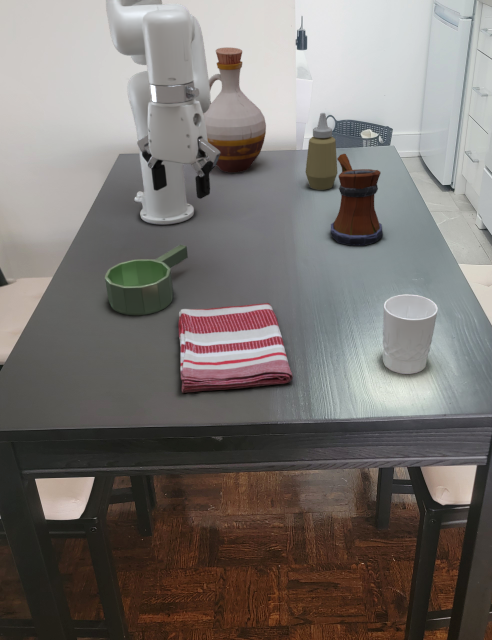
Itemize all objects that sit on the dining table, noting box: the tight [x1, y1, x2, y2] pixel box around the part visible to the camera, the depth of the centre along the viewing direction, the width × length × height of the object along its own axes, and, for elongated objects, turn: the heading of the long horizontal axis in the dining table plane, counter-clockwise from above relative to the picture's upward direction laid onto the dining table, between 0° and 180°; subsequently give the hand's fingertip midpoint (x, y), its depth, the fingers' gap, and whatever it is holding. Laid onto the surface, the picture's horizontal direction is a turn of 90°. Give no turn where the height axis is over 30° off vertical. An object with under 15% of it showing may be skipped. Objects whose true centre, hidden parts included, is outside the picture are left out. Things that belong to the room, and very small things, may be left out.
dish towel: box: [178, 302, 294, 394], centre depth 112 cm, size 17×23×3 cm
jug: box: [203, 47, 267, 174], centre depth 182 cm, size 20×18×30 cm
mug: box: [330, 153, 384, 247], centre depth 148 cm, size 18×12×15 cm, turn 11°
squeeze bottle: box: [305, 112, 338, 191], centre depth 171 cm, size 8×8×18 cm
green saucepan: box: [104, 244, 189, 316], centre depth 129 cm, size 20×12×6 cm, turn 148°
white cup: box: [382, 293, 439, 375], centre depth 106 cm, size 8×8×10 cm
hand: (181, 192), depth 126 cm, fingers open, 9 cm apart
